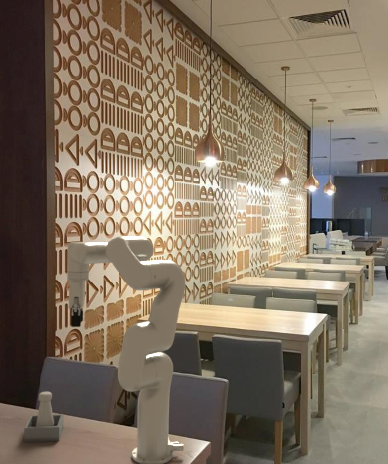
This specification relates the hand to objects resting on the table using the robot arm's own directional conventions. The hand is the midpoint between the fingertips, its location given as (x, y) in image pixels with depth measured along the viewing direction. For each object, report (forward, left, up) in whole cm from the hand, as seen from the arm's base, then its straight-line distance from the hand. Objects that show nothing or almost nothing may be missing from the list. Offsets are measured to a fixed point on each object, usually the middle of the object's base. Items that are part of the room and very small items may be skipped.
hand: (77, 323), depth 183 cm
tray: (+9, +13, -34) cm, 38 cm away
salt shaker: (+9, +13, -34) cm, 37 cm away
